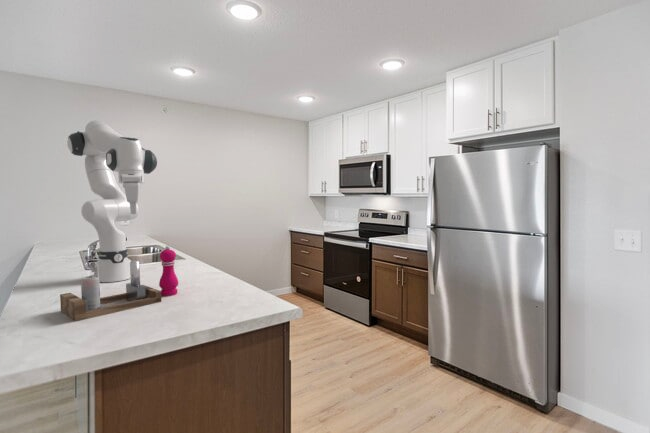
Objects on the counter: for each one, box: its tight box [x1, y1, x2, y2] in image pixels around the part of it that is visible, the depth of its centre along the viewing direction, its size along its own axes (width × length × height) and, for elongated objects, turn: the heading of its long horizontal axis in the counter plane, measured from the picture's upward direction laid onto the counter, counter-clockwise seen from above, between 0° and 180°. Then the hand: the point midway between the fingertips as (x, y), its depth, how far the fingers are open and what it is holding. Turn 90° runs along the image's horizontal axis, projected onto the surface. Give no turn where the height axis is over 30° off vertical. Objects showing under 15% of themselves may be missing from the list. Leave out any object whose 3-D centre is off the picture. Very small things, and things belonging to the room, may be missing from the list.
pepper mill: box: [158, 245, 179, 297], centre depth 147 cm, size 7×7×20 cm
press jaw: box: [125, 260, 146, 302], centre depth 137 cm, size 10×3×15 cm, turn 50°
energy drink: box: [80, 275, 101, 311], centre depth 126 cm, size 5×5×12 cm
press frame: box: [59, 284, 162, 322], centre depth 131 cm, size 16×28×6 cm, turn 140°
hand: (133, 214), depth 141 cm, fingers open, 8 cm apart
